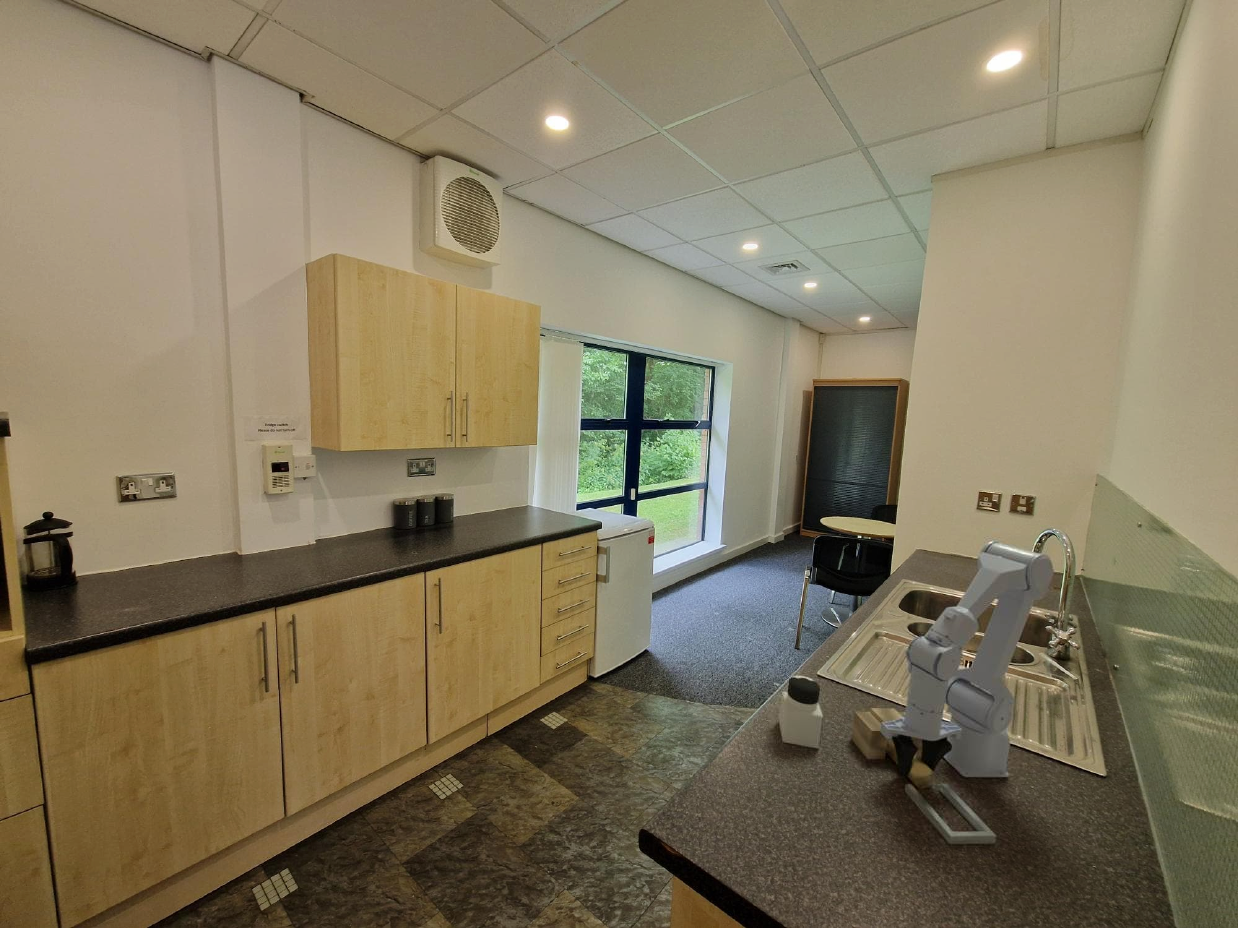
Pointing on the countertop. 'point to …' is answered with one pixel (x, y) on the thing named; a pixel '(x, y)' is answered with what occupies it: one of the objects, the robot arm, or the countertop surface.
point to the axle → (914, 768)
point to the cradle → (952, 837)
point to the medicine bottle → (801, 713)
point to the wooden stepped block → (876, 732)
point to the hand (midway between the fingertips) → (914, 771)
